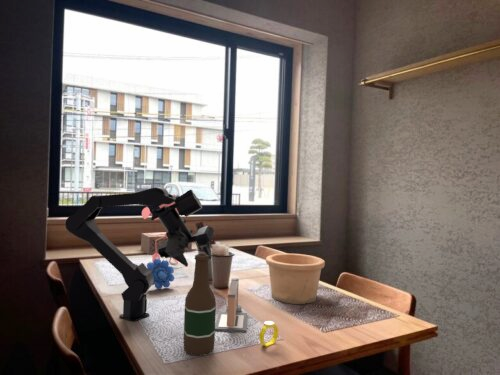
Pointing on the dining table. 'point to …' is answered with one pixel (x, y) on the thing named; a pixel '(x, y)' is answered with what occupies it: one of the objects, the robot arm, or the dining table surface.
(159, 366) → the dining table surface
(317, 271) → the pottery
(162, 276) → the grapes
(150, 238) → the tissue box cover
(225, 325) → the label board
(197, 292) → the beer bottle
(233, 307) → the tan grey flat panel
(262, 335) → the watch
